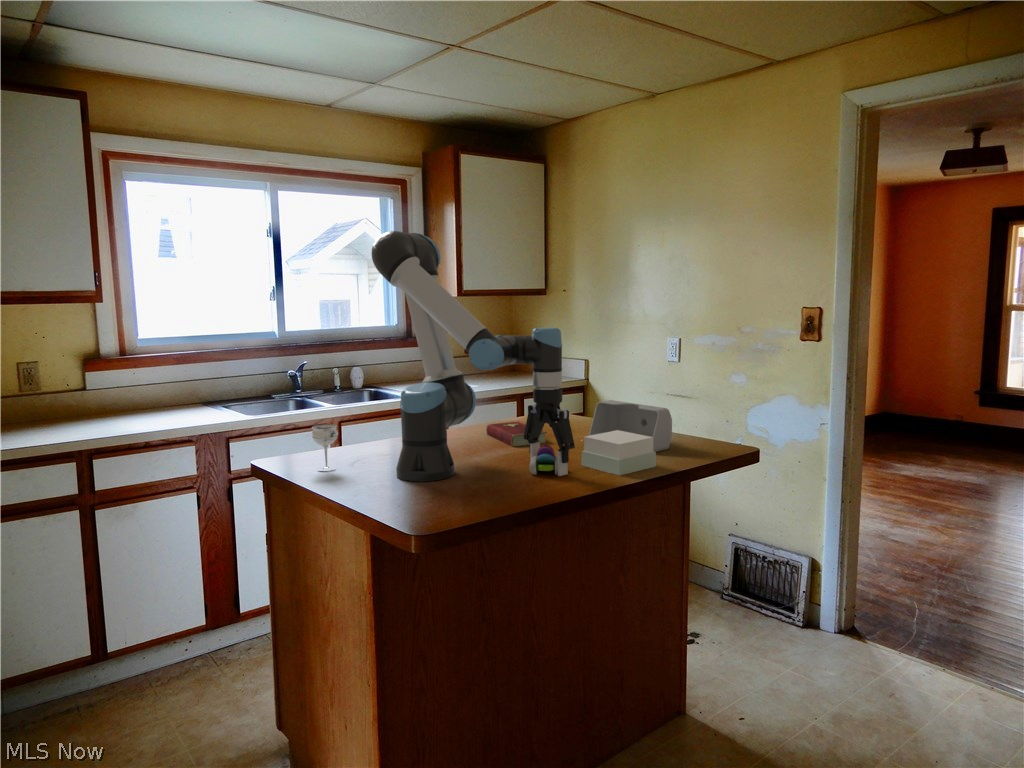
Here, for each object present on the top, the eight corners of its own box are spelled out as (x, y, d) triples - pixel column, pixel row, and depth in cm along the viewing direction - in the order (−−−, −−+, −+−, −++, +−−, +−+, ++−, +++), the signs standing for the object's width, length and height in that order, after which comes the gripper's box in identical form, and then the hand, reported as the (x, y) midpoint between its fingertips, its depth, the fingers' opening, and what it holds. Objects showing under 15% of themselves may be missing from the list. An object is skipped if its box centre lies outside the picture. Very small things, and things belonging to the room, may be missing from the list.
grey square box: (619, 475, 178) (619, 444, 177) (581, 465, 189) (581, 436, 188) (655, 466, 186) (656, 437, 185) (617, 457, 197) (617, 429, 196)
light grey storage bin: (683, 446, 210) (684, 406, 208) (649, 455, 200) (649, 412, 198) (621, 434, 229) (621, 397, 228) (587, 441, 219) (587, 402, 218)
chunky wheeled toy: (562, 468, 187) (562, 441, 186) (561, 477, 177) (561, 449, 176) (531, 468, 188) (531, 441, 187) (528, 477, 178) (528, 449, 177)
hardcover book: (512, 448, 214) (511, 434, 213) (486, 435, 233) (486, 423, 232) (546, 444, 218) (546, 431, 218) (519, 432, 237) (518, 420, 237)
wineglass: (313, 474, 185) (311, 429, 183) (313, 468, 191) (311, 425, 190) (340, 471, 186) (337, 427, 185) (339, 466, 193) (337, 423, 191)
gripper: (588, 390, 173) (589, 476, 176) (531, 382, 191) (532, 460, 194) (566, 393, 169) (567, 482, 172) (509, 384, 187) (510, 465, 190)
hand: (548, 470), depth 183 cm, fingers open, 10 cm apart
